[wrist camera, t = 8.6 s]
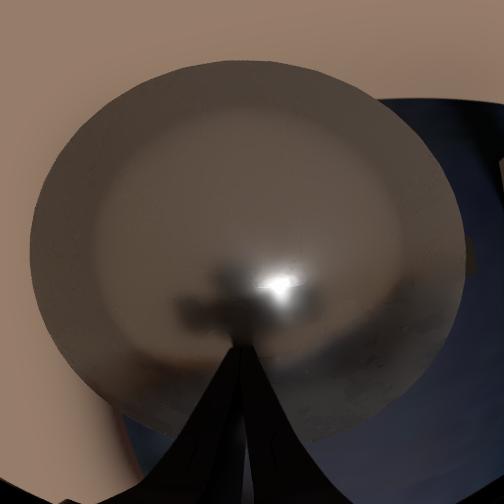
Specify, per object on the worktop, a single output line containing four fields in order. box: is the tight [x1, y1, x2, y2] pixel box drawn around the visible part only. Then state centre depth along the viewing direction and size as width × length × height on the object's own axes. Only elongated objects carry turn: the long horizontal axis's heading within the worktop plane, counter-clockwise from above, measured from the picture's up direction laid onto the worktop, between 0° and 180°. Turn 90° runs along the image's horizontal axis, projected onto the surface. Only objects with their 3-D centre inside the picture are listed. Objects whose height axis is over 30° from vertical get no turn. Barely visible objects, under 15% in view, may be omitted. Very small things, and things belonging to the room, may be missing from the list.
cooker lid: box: [30, 61, 466, 450], centre depth 10 cm, size 18×18×1 cm
